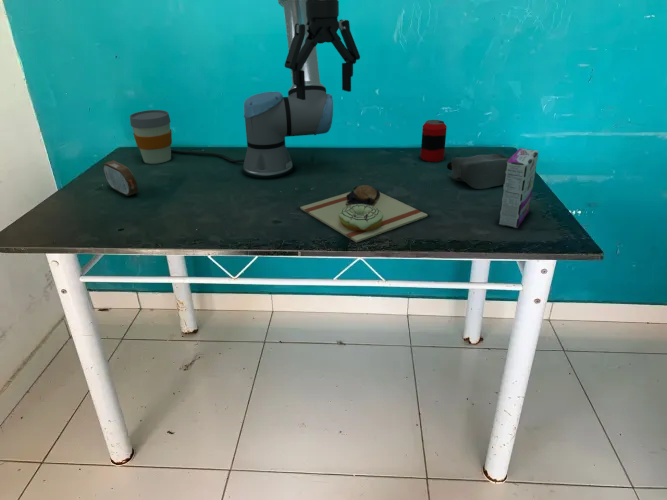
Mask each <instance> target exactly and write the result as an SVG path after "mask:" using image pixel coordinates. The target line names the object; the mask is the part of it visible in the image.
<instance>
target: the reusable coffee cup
mask: <svg viewBox="0 0 667 500" xmlns="http://www.w3.org/2000/svg"><path fill="white" fill-rule="evenodd" d="M171 121H172V120H171V117H170V114H169V111H167V110H163V109H150V110H149V109H148V110H141V111H136V112H134V113H131V114H130V115H129V122H130V123H129V124H130V127H131V128H132V131H133V133H132V134H133V138H134V141H135V144H136V147H137V148H138V149H139V152H140V154H141V157H142V160H143V162H144V163H145V164H151V165H156V164H161V163H167V162H169V161H170V160H172V152H171V150H172V144H173V138H172V134H173V133H172V129H171Z"/></svg>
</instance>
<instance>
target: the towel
mask: <svg viewBox="0 0 667 500" xmlns="http://www.w3.org/2000/svg"><path fill="white" fill-rule="evenodd" d="M350 192H351V191H348V192H345V193H342V194H339V195H336V196H331V197H329V198H325V199H322V200H318V201H316V202H312V203H309V204H305V205H302V206H299V207H300V210H301V211H303V212H304V213H306V214H308V215H309V216H311V217H313V218H314V219H316V220H318V221H320V222H321V223H323V224H325V225H326V226H328V227H330V228H332V229H333V230H334V231H337V232H338V233H340V234H341V235H343V236H345V237H347V238H348V239H349V240H351V241H353V242H355V243H356V244H357V243H359V242H363V241H365V240H368V239H370V238H373V237H376V236H378V235H382V234H383V233H386V232H389V231H392V230H394V229H397V228H400V227H403V226H406V225H408V224H411V223H414V222H416V221H419V220H423V219H424V218H426V217H428V214H427V213H425V212H423V211H421V210H420V209H418V208H415V207H413V206H410V205H408V204H406V203H404V202H402V201H399V200H398V199H396V198H393V197H392V196H389V195H388V194H385V193H382V192H381V191H380V197H379V199H378V200H377V202H376V204H375V205H374V206H373V207H376V208H378V209H379V210H380V211H381V212H382V214H383V218H382V223H381V226H380V227H378V228H375V229H373V230H369V231H365V230H364V231H360V230H359V231H356V230H351V229H347V228H346V227H344V226H343V225H342V224H341V222H340V220H339V211H340V210H341V209H343V208H344V207H346V206H347V205H346V201H347V198H346V196H347V195H348V194H349V193H350Z"/></svg>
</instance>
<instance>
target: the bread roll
mask: <svg viewBox="0 0 667 500" xmlns="http://www.w3.org/2000/svg"><path fill="white" fill-rule="evenodd" d="M349 192H350V193H349V194H348V195H347V196H346V198H347V201H346V205H347V206H349V205H353V204H366V205H370V206H374V205H375V204H376V202H377V200H378V199H379V197H380V192H381V191H380V190H377V189H376V188H374V187H373V186H372V185H367V184H362V185H359V186H355V187H354V188H353V189H352V191H349Z"/></svg>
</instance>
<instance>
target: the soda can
mask: <svg viewBox="0 0 667 500" xmlns="http://www.w3.org/2000/svg"><path fill="white" fill-rule="evenodd" d="M447 128H448V127H447V125H446V123H445V121H444V120H441V119H428V120H426V121H425V123H423V125H422V132H421V145H420V146H421V147H420V158H421V160H423V161H425V162H429V163H436V162H437V163H438V162H441V161H444V159H445V153H446V142H447V141H446V139H447V130H448V129H447Z"/></svg>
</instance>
